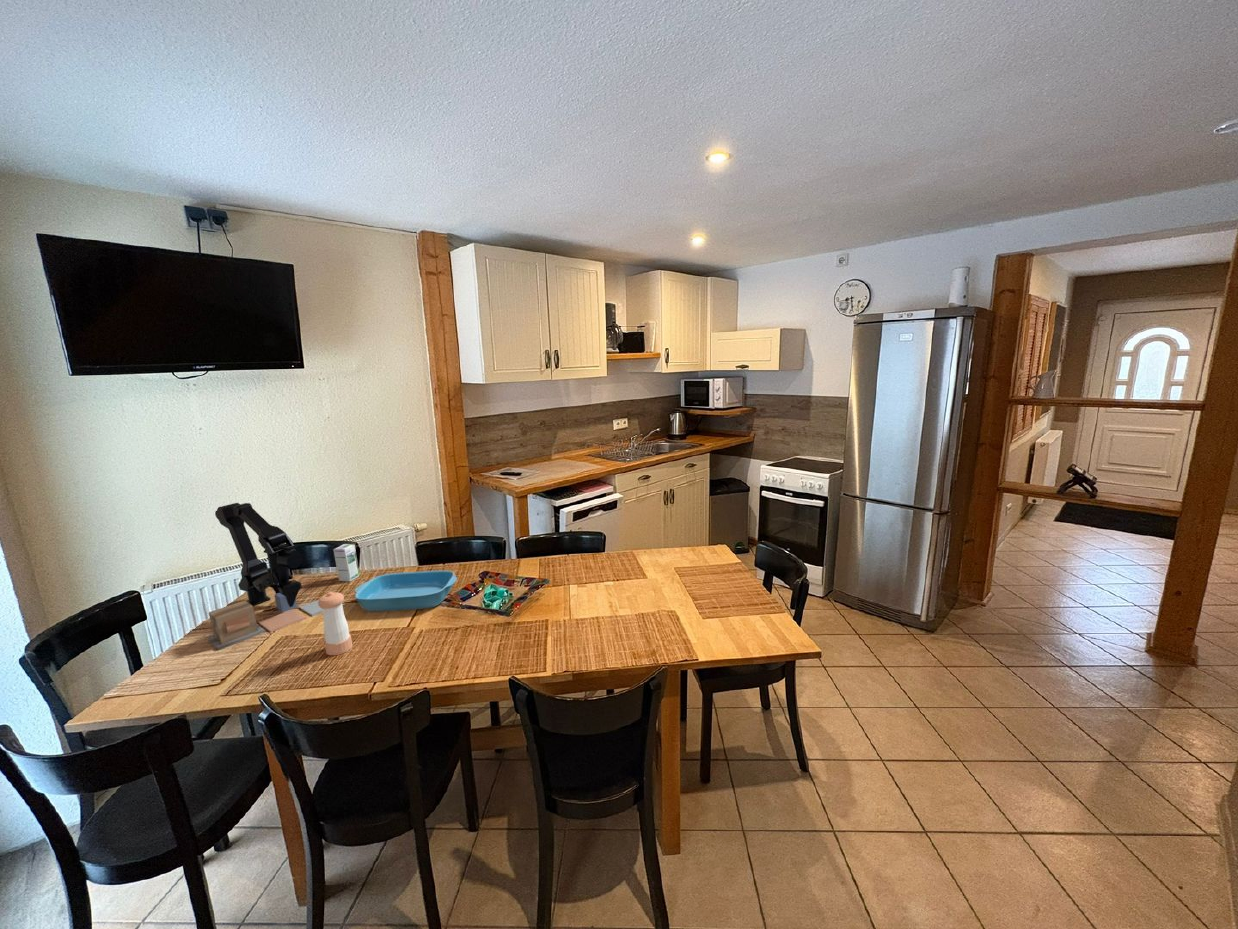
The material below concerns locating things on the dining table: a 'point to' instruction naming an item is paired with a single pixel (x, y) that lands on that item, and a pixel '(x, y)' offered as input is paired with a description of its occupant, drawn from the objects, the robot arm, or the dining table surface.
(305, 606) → the grey mat
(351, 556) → the syrup box
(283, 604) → the block
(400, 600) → the casserole dish
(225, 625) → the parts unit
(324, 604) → the salt shaker
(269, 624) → the terracotta mat
